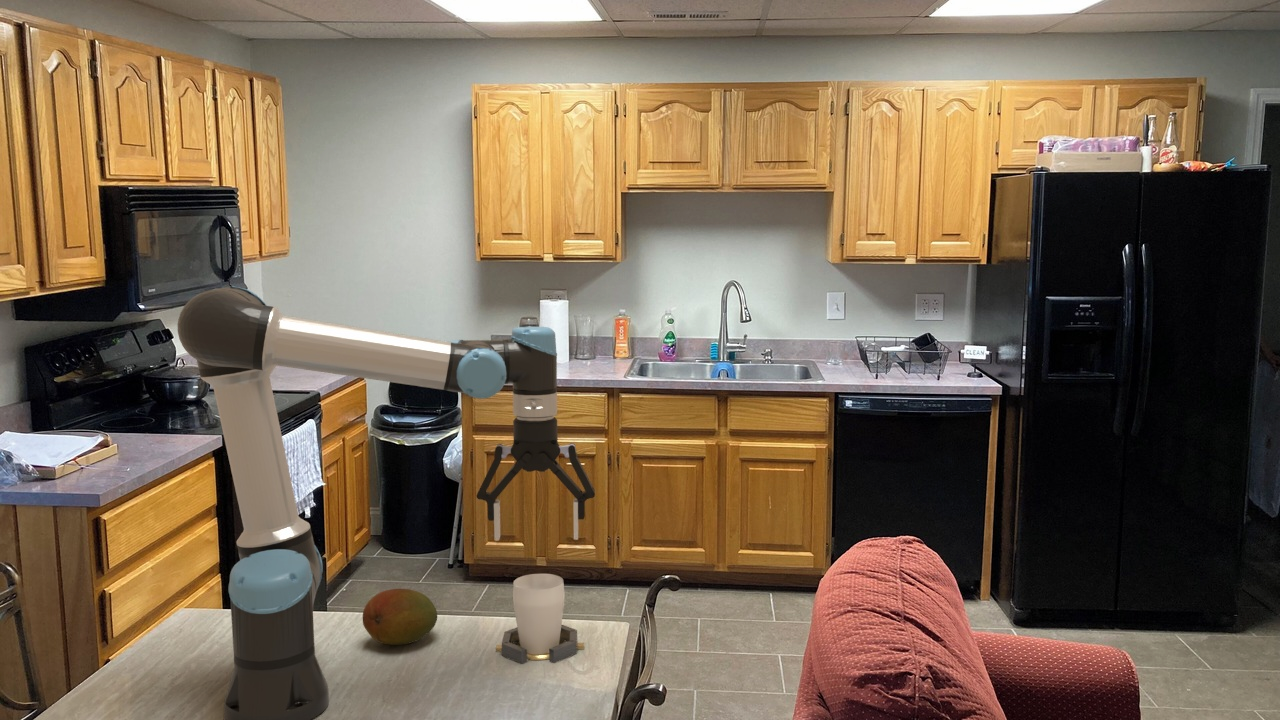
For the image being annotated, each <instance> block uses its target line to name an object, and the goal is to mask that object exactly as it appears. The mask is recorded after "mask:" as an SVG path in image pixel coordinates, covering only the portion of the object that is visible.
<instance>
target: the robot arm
mask: <svg viewBox="0 0 1280 720" xmlns="http://www.w3.org/2000/svg"><path fill="white" fill-rule="evenodd" d="M178 316H179V317H178V318H177V326H176V327H177V334H178V338H179V342H180V343H181V346H182V348H183V349H184V350H185V352H186V353H187V354H189V356H190V357H192V358H193V359H195V360H196V363H197V368H198V372H199V377H200V379H201V380H203V381H204V382H205V383H207V384H209V385H211V387H212V388H213V391H214V392H213V393H214V397H215V400H216V401H215V402H216V405H217V407H216V408H217V411H218V415H219V419H220V425H221V428H222V430H221V431H222V434H223V438H224V443H225V444H224V445H225V448H226V452H227V456H228V461H229V465H230V466H229V467H230V471H231V475H232V480H233V484H234V489H235V494H236V499H237V503H238V508H239V513H240V517H241V522H242V528H243V531H242V532H241V534H240V535H239V537H238V539H237V540H236V546H237V551H238V557H239V561H237V562H236V563H235V564H234V566H232V568H231V571H230V572H229V573H230V574H229V583H228V594H229V598H230V599H229V600H230V601H229V602H230V612H231V613H230V614H231V629H232V646H233V647H232V648H233V649H232V650H233V651H232V652H233V670H232V673H231V677H230V679H229V684H228V687H227V692H226V694H225V698H224V702H223V709H224V711H223V713H224V714H223V715H224V720H312V719H314V718H316V717H318V716H319V715H321V714H322V713H323V712H324V711H325V710H326V709H327V707H328V706H329V703H330V693H329V685H328V682H327V681H326V677H325V676H324V673H323V670H322V668H321V666H320V663H319V662H318V659H317V656H316V650H315V649H316V648H315V629H314V603H315V599H316V596H317V592H318V588H319V586H320V585H321V580H322V579H323V575H322V574H323V572H324V571H323V570H324V569H323V567H324V566H323V560H322V557H321V556H322V555H321V554H320V552H319V550H318V547H317V546H316V544H315V541H314V537H313V533H312V528H311V524H310V523H309V522H308V521H307V520H304V519H303V518H301V517H300V516H299V513H298V507H297V504H296V498H295V492H294V488H293V483H292V479H291V473H290V469H289V465H288V459H287V454H286V449H285V445H284V444H285V443H284V440H283V435H282V431H281V426H280V425H281V424H280V421H279V416H278V411H277V407H276V402H275V398H274V397H275V396H274V393H273V387H272V382H271V378H270V377H271V374H272V372H273V371H274V369H275V368H276V367H277V366H279V367H284V368H285V367H286V368H292V369H298V370H305V371H312V372H319V373H324V374H325V373H326V374H333V375H339V376H345V377H352V378H353V377H354V378H360V379H368V380H372V381H373V380H375V381H379V382H380V381H383V382H388V383H395V384H402V385H409V386H417V387H421V388H430V389H436V390H443V391H448V392H453V393H461V394H465V395H467V396H469V397H470V398H474V399H475V398H476V399H480V400H481V399H483V400H484V399H488V398H489V399H490V398H491V397H493V396H495V395H497V394H498V393H499V392H500V391H501V390H502V389H503V387H504V385H506V384H512V415H513V416H514V417H515V418H514V420H513V421H512V423H513V426H512V427H513V428H512V429H513V430H512V431H513V432H512V433H513V435H512V437H513V443H512V446H507V445H503V444H502V443H498V444H497V445H496V447H495V449H494V455H493V456H494V457H493V461H492V463H491V465H490V467H489V468H488V471H487V473H486V475H485V477H484V478H483V482H482V483H481V485H480V488H479V490H478V492H477V493H476V499H477V500H481V501H485V502H486V504H487V520H488V521H492V522H493V525H494V527H493V528H494V529H493V531H494V533H493V535H494V536H493V537H494V542H495V541H496V542H497V541H498V542H499V541H500V539H501V501H500V499H497V498H498V497H499V496H500V494H501V493H502V492H503V491H504V490H505V489H506V487H508V485H509V484H510V483H511V482H512V480H514V478H515V477H516V476H517V475H518V474H519V473H520V471H521V470H523V471H525V472H528V473H530V472H531V473H532V472H535V471H536V472H545V471H547V470H550V471H551V473H552V474H553V475H555V476H556V477H557V479H558V480H559V481H560V482H561V483H562V484H563V485H564V486H565V488H566V489H567V490H568V491H569V492H570V493H571V495H572V496H573V497H574V498H573V502H572V503H573V505H572V506H573V509H572V510H573V512H572V513H573V540H576V541H577V540H579V520H584V519H585V515H586V507H585V506H586V501H587V500H589V499H593V498H595V497H596V491H595V488H594V486H593V484H592V482H591V479H590V478H589V477H588V475H587V472H586V471H585V469H584V466H583V465H582V463H581V461H580V459H579V457H578V456H577V455H578V454H577V448H576V444H575V443H574V442H571V443H569V444H566V445H560V444H559V442H558V419H557V418H556V417H555V416H556V415H557V414H558V392H557V391H558V389H557V387H558V386H557V385H558V382H557V380H558V378H557V377H558V376H557V375H558V374H557V372H558V369H557V367H558V366H557V365H558V363H557V361H558V360H557V359H558V357H557V356H558V353H557V343H556V332H555V331H554V330H553V329H552V328H550V327H549V326H548V327H547V326H520V327H519V326H518V327H514V328H513V329H512V331H511V336H510V338H506V339H501V340H500V339H497V340H496V339H494V340H493V339H491V340H490V339H483V340H479V339H476V340H475V339H474V340H473V339H470V340H468V339H467V340H465V339H458V340H450V341H449V340H447V341H445V340H438V339H433V338H426V337H419V336H413V335H407V334H401V333H395V332H390V331H383V330H377V329H370V328H365V327H358V326H351V325H346V324H345V325H344V324H339V323H333V322H326V321H321V320H316V319H315V320H314V319H308V318H303V317H295V316H290V315H285V314H282V313H281V311H280V310H279V309H278V307H276V306H271V305H267V304H266V303H265V302H264V301H263V299H262V298H261V297H260V296H258V295H257V294H256V293H254V292H252V291H251V290H249V289H246V288H244V287H243V288H242V287H239V286H234V285H232V286H221V287H217V288H214V289H210V290H205V291H203V292H200V293H198V294H196V295H195V296H193V297H191V299H189V300H188V302H187V303H186V304H185V305H184V306H183V308H182V309H181V311H180V314H179V315H178ZM510 454H511V456H512V457H513V458H514V460H515V461H516V462H515V463H513V465H512V466H511V468H510V469H509V470H508V471H507V473H506V474H505V475H504V476H503V478H502V479H501V480H500V481H499V482H498V483H497V485H496V486H495V487H494V488H493V489H492V490H491V492H489V491H488V489H489V487H490V485H491V482H492V480H493V479H494V476H495V474H496V472H497V471H498V468H499V466H500V464H501V463H502V460H504V459H506V458H507V456H508V455H510ZM560 454H563V455H564V458H567V459H569V461H570V464H571V466H572V468H573V470H574V472H575V474H576V475H577V477H578V479H579V481H580V483H581V485H582V487H583V489H584V491H583V490H582V489H581V488H580V487H579V485H577V484H576V482H575V481H574V480H573V479H572V478H571V476H569V474H567V472H566V471H565V470H564V469H563V468H562V466H561V465H560V464H559V462H558V461H557V458H558V457H559V456H560Z"/></svg>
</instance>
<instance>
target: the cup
mask: <svg viewBox="0 0 1280 720" xmlns="http://www.w3.org/2000/svg"><path fill="white" fill-rule="evenodd" d="M512 585H513V589H512V591H513V592H512V604H513V609H514V615H515V621H516V627H517V628H518V634H519V640H520V646H521V647H522V648H525V649H527V653H528V654H533V655H543V654H548V653H549V649H550V648H553V647H555V646H558V645H559V640H560V632H561V624H562V623H563V614H564V608H565V597H566V596H565V584H564V579H563V578H562V577H561V576H559V575H557V574H551V573H532V574H530V573H529V574H525V575H522V576H520V577H519V576H518V577H517V578H516V579H515V580H513V584H512ZM562 625H563V624H562Z"/></svg>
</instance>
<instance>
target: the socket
mask: <svg viewBox="0 0 1280 720" xmlns="http://www.w3.org/2000/svg"><path fill="white" fill-rule="evenodd" d="M578 649H579V650H585V642H578V629H576V628H572V627H570V626H567V625H564V624H561V632H560V640H559V645H558V646H555V647H553V648H550V649H549V653H548V654H543V655H533V654H528V653H527V649H525V648H522V647H521V646H520V640H519V634H518V628H517V626H516V627H514V628H511V629H509V630H506V631H504V632H503V636H502V641H501V644H496V646H495V652H496V653H497V652H501V656H502V657H504V658H507V659H509V660H511V661H514V662H516V663H518V664H520V665H521V664H522V665H523V664H525V663H528V661H546V660H549V662H551V663H553V664H555V663H557V662H560V661H563V660H566V659H567V658H570V657H572V656H575V655H577V651H578Z"/></svg>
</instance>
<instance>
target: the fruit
mask: <svg viewBox="0 0 1280 720" xmlns="http://www.w3.org/2000/svg"><path fill="white" fill-rule="evenodd" d="M437 621H438V611H437V608H436V606H435V605H434V603H433V602H432V600H430V598H429V597H428V596H427V595H425V594H424V593H421V592H419V591H416V590H414V589H410V588H409V589H408V588H392V589H386V590H382V591H381V592H379V593H376V595H374V596H373V597H372V598H370V600H369V601H368V602H367V603H366V605H365V606H364V609H363V611H362V625H363V627H364V629H365V631H366V632H367V633H368V634H369V635H370V637H372V638H373V639H374V640H376V641H377V642H379V643H381V644H384V645H391V646H392V645H395V646H402V645H407V644H411V643H415V642H416V641H419V640H422V638H424V637H425V636H427V635H428V634H429V633H430V632H432V630H433V629H434V627H435V625H436V623H437Z"/></svg>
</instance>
